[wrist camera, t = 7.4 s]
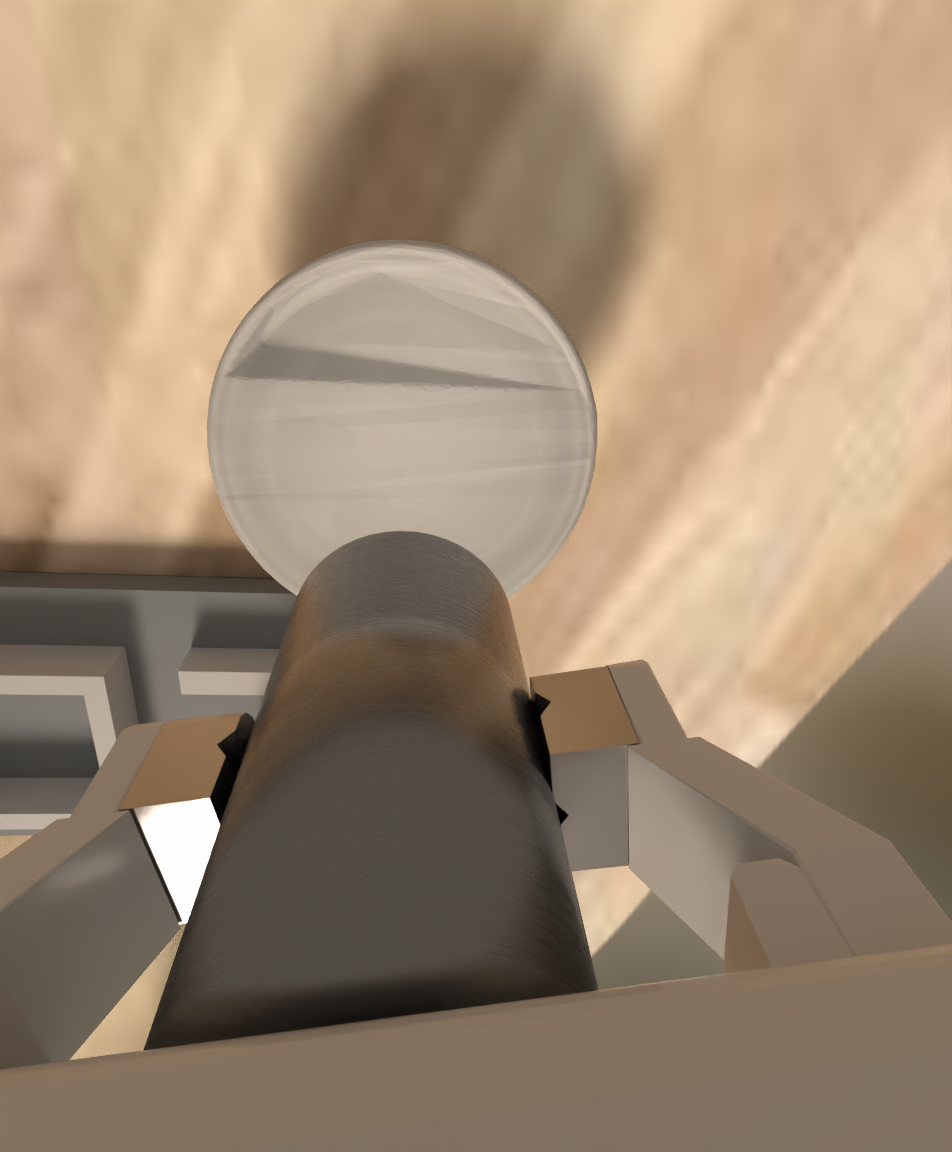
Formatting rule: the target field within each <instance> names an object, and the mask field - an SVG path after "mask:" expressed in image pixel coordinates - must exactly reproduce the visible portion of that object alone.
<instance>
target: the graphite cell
mask: <svg viewBox="0 0 952 1152" xmlns="http://www.w3.org/2000/svg"><path fill="white" fill-rule="evenodd" d="M596 990H599V989H598V985H597V981H596V977H595V972H594V968H593V964H592V959H591V955H590V951H589V946H588V942H587V938H586V933H585V929H584V925H583V920H582V916H581V912H580V907H579V903H578V899H577V895H576V890H575V886H574V882H573V877H572V873H571V869H570V864H569V860H568V856H567V851H566V847H565V843H564V839H563V834H562V830H561V826H560V821H559V817H558V813H557V808H556V804H555V800H554V797H553V794H552V790H551V785H550V781H549V777H548V773H547V768H546V764H545V760H544V755H543V748H542V744H541V739H540V736H539V732H538V729H537V725H536V720H535V716H534V711H533V707H532V703H531V696H530V692H529V688H528V683H527V679H526V675H525V670H524V666H523V662H522V657H521V653H520V649H519V645H518V640H517V636H516V632H515V627H514V623H513V619H512V614H511V610H510V606H509V603H508V600H507V597H506V594H505V592H504V590H503V588H502V586H501V584H500V582H499V581H498V579H497V578H496V576H495V575H494V574H493V572H492V571H491V570H490V569H489V568H488V567H487V566H486V565H485V563H484V562H483V561H481V560H480V559H479V558H478V557H476V556H475V555H474V554H473V553H472V552H470V551H468V550H467V549H465V548H463V547H462V546H460V545H458V544H456V543H454V542H452V541H449V540H447V539H445V538H441V537H438V536H435V535H431V534H426V533H420V532H412V531H392V532H382V533H377V534H372V535H368V536H365V537H362V538H359V539H356V540H354V541H351V542H349V543H347V544H345V545H343V546H341V547H340V548H338V549H337V550H335V551H333V552H332V553H330V554H329V555H328V556H327V557H326V558H324V559H323V560H322V561H321V562H320V563H319V564H318V565H317V566H316V567H315V568H314V569H313V570H312V572H311V573H310V574H309V576H308V577H307V579H306V580H305V582H304V583H303V585H302V587H301V589H300V591H299V594H298V596H297V598H296V601H295V604H294V607H293V610H292V613H291V616H290V619H289V622H288V625H287V628H286V631H285V634H284V637H283V640H282V643H281V646H280V649H279V652H278V655H277V658H276V660H275V663H274V666H273V669H272V672H271V675H270V678H269V681H268V684H267V687H266V690H265V693H264V696H263V699H262V702H261V705H260V708H259V711H258V714H257V717H256V720H255V723H254V725H253V728H252V731H251V734H250V737H249V740H248V743H247V746H246V749H245V752H244V755H243V758H242V761H241V764H240V767H239V770H238V773H237V776H236V779H235V782H234V785H233V788H232V791H231V793H230V796H229V799H228V802H227V805H226V808H225V811H224V814H223V817H222V820H221V823H220V826H219V829H218V832H217V835H216V838H215V841H214V844H213V847H212V850H211V853H210V856H209V858H208V861H207V864H206V867H205V870H204V873H203V876H202V879H201V882H200V885H199V888H198V891H197V894H196V897H195V900H194V903H193V906H192V909H191V912H190V915H189V918H188V921H187V923H186V926H185V929H184V932H183V935H182V938H181V941H180V944H179V947H178V950H177V953H176V956H175V959H174V962H173V965H172V968H171V971H170V974H169V977H168V980H167V983H166V986H165V989H164V991H163V994H162V997H161V1000H160V1003H159V1006H158V1009H157V1012H156V1015H155V1018H154V1021H153V1024H152V1027H151V1030H150V1033H149V1036H148V1039H147V1042H146V1045H145V1048H144V1050H151V1049H159V1048H166V1047H174V1046H181V1045H189V1044H197V1043H204V1042H212V1041H219V1040H227V1039H234V1038H242V1037H249V1036H257V1035H264V1034H272V1033H279V1032H287V1031H294V1030H302V1029H309V1028H317V1027H325V1026H332V1025H340V1024H347V1023H355V1022H362V1021H370V1020H377V1019H385V1018H392V1017H400V1016H407V1015H415V1014H422V1013H430V1012H438V1011H445V1010H453V1009H460V1008H468V1007H475V1006H483V1005H490V1004H498V1003H505V1002H513V1001H521V1000H528V999H536V998H543V997H551V996H558V995H566V994H573V993H581V992H589V991H596Z"/></svg>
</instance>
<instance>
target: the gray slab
mask: <svg viewBox="0 0 952 1152" xmlns="http://www.w3.org/2000/svg"><path fill="white" fill-rule="evenodd" d="M296 598H297V595H295V594H294V593H292V592H291V591H290V590H288V589H287V588H285V587H284V586H282V585H281V584H280V583H279V582H278V581H276V580H275V579H262V578H224V577H186V576H148V575H109V574H71V573H33V572H0V835H35V834H37V833H38V832H40V831H41V830H42V829H44V828H45V827H47V826H48V825H49V824H51V823H52V822H54V821H55V820H57V819H64V818H70V816H71V814H72V813H73V811H74V809H75V808H76V806H77V805H78V803H79V801H80V800H81V798H82V796H83V795H84V793H85V791H86V790H87V788H88V786H89V785H90V783H91V781H92V780H93V778H94V776H95V775H96V773H97V771H98V770H99V768H100V767H101V765H102V763H103V762H104V760H105V758H106V757H107V755H108V753H109V752H110V750H111V748H112V747H113V745H114V743H115V742H116V740H117V738H118V737H119V735H120V733H121V732H122V731H123V729H125V728H127V727H129V726H131V725H136V724H144V723H152V722H160V721H171V720H177V719H187V718H196V717H206V716H215V715H224V714H234V713H243V712H247V713H248V714H249V715H251V716H252V717H253V718H254V721H255V720H256V717H257V714H258V711H259V708H260V705H261V702H262V699H263V696H264V693H265V690H266V687H267V684H268V681H269V678H270V675H271V672H272V669H273V666H274V663H275V660H276V658H277V655H278V652H279V649H280V646H281V643H282V640H283V637H284V634H285V631H286V628H287V625H288V622H289V619H290V616H291V613H292V610H293V607H294V604H295V601H296Z"/></svg>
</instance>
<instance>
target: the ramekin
mask: <svg viewBox="0 0 952 1152" xmlns="http://www.w3.org/2000/svg"><path fill="white" fill-rule="evenodd" d="M207 447H208V453H209V463H210V468H211V472H212V477H213V480H214V484H215V487H216V490H217V493H218V497H219V499H220V501H221V504H222V507H223V509H224V511H225V514H226V515H227V517H228V519H229V521H230V523H231V524H232V526H233V528H234V530H235V532H236V533H237V535H238V536H239V538H240V540H241V541H242V542H243V544H244V545H245V546H246V548H247V549H248V551H249V552H250V553H251V555H252V556H253V557H254V558H255V560H256V561H257V562H258V563H259V564H260V565H261V566H262V568H263V569H264V570H265V571H266V572H268V573H269V574H270V575H271V576H272V577H273V578H274V579H275V580H276V581H278V582H279V583H280V584H281V585H282V586H284V587H285V588H287V589H288V590H290V591H291V592H292V593H294V594H295V595H297V596H298V594H299V591H300V589H301V587H302V585H303V583H304V582H305V580H306V579H307V577H308V576H309V574H310V573H311V572H312V570H313V569H314V568H315V567H316V566H317V565H318V564H319V563H320V562H321V561H322V560H323V559H324V558H326V557H327V556H328V555H329V554H330V553H332V552H333V551H335V550H337V549H338V548H340V547H341V546H343V545H345V544H347V543H349V542H351V541H354V540H356V539H359V538H362V537H365V536H368V535H372V534H377V533H382V532H392V531H412V532H420V533H426V534H431V535H435V536H438V537H441V538H445V539H447V540H449V541H452V542H454V543H456V544H458V545H460V546H462V547H463V548H465V549H467V550H468V551H470V552H472V553H473V554H474V555H475V556H476V557H478V558H479V559H480V560H481V561H483V562H484V563H485V565H486V566H487V567H488V568H489V569H490V570H491V571H492V572H493V574H494V575H495V576H496V578H497V579H498V581H499V582H500V584H501V586H502V588H503V590H504V592H505V594H506V597H507V599H508V598H509V597H511V596H512V595H513V594H515V593H516V592H518V591H519V590H520V589H521V588H523V587H524V586H525V585H526V584H528V583H529V582H530V581H531V580H533V579H534V578H535V577H536V576H537V575H538V574H539V573H541V571H542V570H543V569H544V568H545V567H546V566H547V565H548V564H549V563H550V562H551V561H552V559H553V558H554V557H555V555H556V554H557V553H558V552H559V550H560V549H561V548H562V546H563V545H564V543H565V542H566V540H567V539H568V537H569V535H570V533H571V532H572V530H573V529H574V527H575V525H576V523H577V521H578V519H579V517H580V515H581V513H582V510H583V508H584V505H585V502H586V499H587V496H588V493H589V490H590V486H591V481H592V478H593V472H594V468H595V458H596V448H597V411H596V405H595V401H594V396H593V392H592V388H591V385H590V381H589V378H588V375H587V372H586V369H585V366H584V364H583V361H582V359H581V357H580V355H579V353H578V351H577V349H576V347H575V345H574V343H573V341H572V339H571V337H570V336H569V334H568V333H567V331H566V329H565V328H564V326H563V325H562V324H561V322H560V321H559V319H558V318H557V317H556V316H555V314H554V313H553V312H552V311H551V310H550V308H549V307H548V306H547V305H546V304H545V303H544V302H543V301H542V300H541V299H540V298H539V297H538V295H537V294H535V293H534V292H533V291H532V290H531V289H530V288H529V287H528V286H526V285H525V284H524V283H523V282H522V281H520V280H519V279H518V278H516V277H515V276H513V275H512V274H510V273H509V272H507V271H506V270H504V269H503V268H501V267H500V266H498V265H496V264H494V263H492V262H490V261H488V260H486V259H484V258H482V257H480V256H478V255H475V254H473V253H471V252H468V251H465V250H462V249H458V248H455V247H451V246H448V245H444V244H439V243H433V242H426V241H417V240H402V239H397V240H377V241H370V242H364V243H359V244H354V245H350V246H347V247H343V248H340V249H337V250H334V251H332V252H329V253H327V254H325V255H322V256H320V257H318V258H316V259H314V260H312V261H310V262H308V263H306V264H304V265H302V266H301V267H299V268H297V269H296V270H294V271H293V272H291V273H290V274H288V275H287V276H285V277H284V278H283V279H281V280H280V281H279V282H278V283H276V284H275V285H274V286H273V287H272V288H271V289H270V290H269V291H267V292H266V293H265V294H264V295H263V296H262V297H261V298H260V300H259V301H258V302H257V303H256V304H255V305H254V306H253V307H252V309H251V310H250V311H249V312H248V313H247V314H246V316H245V317H244V318H243V320H242V321H241V323H240V324H239V326H238V327H237V329H236V330H235V332H234V334H233V335H232V337H231V339H230V341H229V343H228V345H227V347H226V348H225V351H224V353H223V355H222V358H221V360H220V362H219V365H218V368H217V371H216V374H215V378H214V381H213V385H212V389H211V394H210V399H209V409H208V419H207Z"/></svg>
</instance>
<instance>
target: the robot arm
mask: <svg viewBox="0 0 952 1152" xmlns="http://www.w3.org/2000/svg"><path fill="white" fill-rule="evenodd" d="M530 696H531V703H532V707H533V711H534V716H535V720H536V725H537V729H538V732H539V736H540V739H541V744H542V748H543V755H544V760H545V764H546V768H547V773H548V777H549V781H550V785H551V790H552V794H553V797H554V800H555V804H556V808H557V813H558V817H559V821H560V826H561V830H562V834H563V839H564V843H565V847H566V851H567V856H568V860H569V864H570V869H571V871H579V870H589V869H598V868H608V867H618V866H628V865H629V869H630V870H631V871H632V872H633V873H634V874H635V875H636V876H637V877H638V878H640V879H641V880H642V881H643V882H644V883H645V884H646V885H647V886H648V887H649V888H650V889H651V890H652V891H653V892H654V893H655V894H656V895H657V896H658V897H659V898H660V899H661V900H663V902H665V903H666V904H667V905H668V906H669V907H670V908H671V909H672V910H673V911H674V912H675V913H676V914H677V915H678V916H679V917H680V918H681V919H682V920H683V921H684V922H685V923H686V924H687V925H688V926H690V927H691V928H692V929H693V930H694V931H695V932H696V933H697V934H698V935H699V936H700V937H701V938H702V939H703V940H704V941H705V942H706V943H707V944H708V945H709V946H710V947H711V948H712V949H713V950H714V951H715V952H717V953H718V954H719V955H720V956H721V957H722V958H723V959H724V962H723V974H717V975H710V976H702V977H694V978H687V979H679V980H672V981H665V982H657V983H649V984H642V985H634V986H626V987H619V988H611V989H605V990H596V991H589V992H581V993H573V994H566V995H558V996H551V997H543V998H536V999H528V1000H521V1001H513V1002H505V1003H498V1004H490V1005H483V1006H475V1007H468V1008H460V1009H453V1010H445V1011H438V1012H430V1013H422V1014H415V1015H407V1016H400V1017H392V1018H385V1019H377V1020H370V1021H362V1022H355V1023H347V1024H340V1025H332V1026H325V1027H317V1028H309V1029H302V1030H294V1031H287V1032H279V1033H272V1034H264V1035H257V1036H249V1037H242V1038H234V1039H227V1040H219V1041H212V1042H204V1043H197V1044H189V1045H181V1046H174V1047H166V1048H159V1049H151V1050H144V1051H136V1052H129V1053H121V1054H114V1055H106V1056H99V1057H91V1058H84V1059H76V1060H70V1058H71V1057H72V1056H73V1055H74V1054H75V1053H76V1051H77V1050H78V1049H79V1048H80V1047H81V1045H82V1044H83V1043H84V1042H85V1041H86V1040H87V1038H88V1037H89V1036H90V1035H91V1034H92V1032H93V1031H94V1030H95V1029H96V1028H97V1027H98V1025H99V1024H100V1023H101V1022H102V1021H103V1019H104V1018H105V1017H106V1016H107V1015H108V1014H109V1012H110V1011H111V1010H112V1009H113V1008H114V1006H115V1005H116V1004H117V1003H118V1002H119V1000H120V999H121V998H122V997H123V996H124V995H125V993H126V992H127V991H128V990H129V989H130V987H131V986H132V985H133V984H134V983H135V982H136V980H137V979H138V978H139V977H140V976H141V974H142V973H143V972H144V971H145V970H146V969H147V967H148V966H149V965H150V964H151V963H152V961H153V960H154V959H155V958H156V957H157V956H158V954H159V953H160V952H161V951H162V950H163V948H164V947H165V946H166V945H167V944H168V943H169V941H170V940H171V939H172V938H173V937H174V935H175V934H176V933H177V932H178V931H179V930H180V928H181V926H180V924H184V923H187V921H188V918H189V915H190V912H191V909H192V906H193V903H194V900H195V897H196V894H197V891H198V888H199V885H200V882H201V879H202V876H203V873H204V870H205V867H206V864H207V861H208V858H209V856H210V853H211V850H212V847H213V844H214V841H215V838H216V835H217V832H218V829H219V826H220V823H221V820H222V817H223V814H224V811H225V808H226V805H227V802H228V799H229V796H230V793H231V791H232V788H233V785H234V782H235V779H236V776H237V773H238V770H239V767H240V764H241V761H242V758H243V755H244V752H245V749H246V746H247V743H248V740H249V737H250V734H251V731H252V728H253V725H254V723H255V721H254V718H253V717H252V716H251V715H249V714H248V713H247V712H243V713H234V714H224V715H215V716H206V717H196V718H187V719H177V720H171V721H160V722H152V723H144V724H136V725H131V726H129V727H127V728H125V729H123V731H122V732H121V733H120V735H119V737H118V738H117V740H116V742H115V743H114V745H113V747H112V748H111V750H110V752H109V753H108V755H107V757H106V758H105V760H104V762H103V763H102V765H101V767H100V768H99V770H98V771H97V773H96V775H95V776H94V778H93V780H92V781H91V783H90V785H89V786H88V788H87V790H86V791H85V793H84V795H83V796H82V798H81V800H80V801H79V803H78V805H77V806H76V808H75V809H74V811H73V813H72V814H71V816H70V818H64V819H57V820H55V821H54V822H52V823H51V824H49V825H48V826H47V827H45V828H44V829H42V830H41V831H40V832H38V833H37V834H35V835H34V836H33V837H31V838H30V839H28V840H27V841H25V842H24V843H23V844H21V845H20V846H18V847H17V848H16V849H14V850H13V851H11V852H10V853H9V854H7V855H6V856H4V857H3V858H1V859H0V1152H952V923H951V921H950V920H949V918H948V917H947V916H946V915H945V913H944V912H943V911H942V909H941V908H940V907H939V905H938V904H937V903H936V901H935V900H934V899H933V897H932V896H931V895H930V894H929V892H928V891H927V889H926V888H925V887H924V885H923V884H922V883H921V882H920V880H919V879H918V878H917V876H916V875H915V874H914V872H913V871H912V870H911V869H910V867H909V866H908V864H907V863H906V862H905V861H904V859H903V858H902V857H901V855H900V854H899V853H898V851H897V850H896V849H895V847H894V846H893V845H892V843H891V842H890V841H889V840H887V839H885V838H883V837H881V836H879V835H878V834H876V833H874V832H872V831H870V830H869V829H867V828H865V827H863V826H861V825H859V824H858V823H856V822H854V821H852V820H850V819H848V818H847V817H845V816H843V815H841V814H839V813H838V812H836V811H834V810H832V809H830V808H828V807H827V806H825V805H823V804H821V803H819V802H817V801H816V800H814V799H812V798H810V797H808V796H807V795H805V794H803V793H801V792H799V791H797V790H796V789H794V788H792V787H790V786H788V785H786V784H784V783H783V782H781V781H779V780H777V779H775V778H773V777H772V776H770V775H768V774H766V773H765V772H762V771H761V770H759V769H757V768H755V767H754V766H752V765H750V764H748V763H746V762H744V761H743V760H741V759H739V758H737V757H735V756H733V755H732V754H730V753H728V752H726V751H724V750H723V749H721V748H719V747H717V746H715V745H713V744H712V743H710V742H708V741H706V740H704V739H702V738H701V737H694V738H687V736H686V734H685V732H684V730H683V728H682V726H681V724H680V723H679V721H678V719H677V717H676V715H675V713H674V711H673V709H672V707H671V705H670V704H669V702H668V700H667V698H666V696H665V694H664V692H663V690H662V688H661V686H660V684H659V683H658V681H657V679H656V677H655V675H654V673H653V671H652V669H651V667H650V665H649V664H648V662H646V661H644V660H637V661H631V662H624V663H618V664H612V665H606V666H605V667H598V668H591V669H584V670H577V671H569V672H562V673H555V674H548V675H541V676H534V677H530Z"/></svg>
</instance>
